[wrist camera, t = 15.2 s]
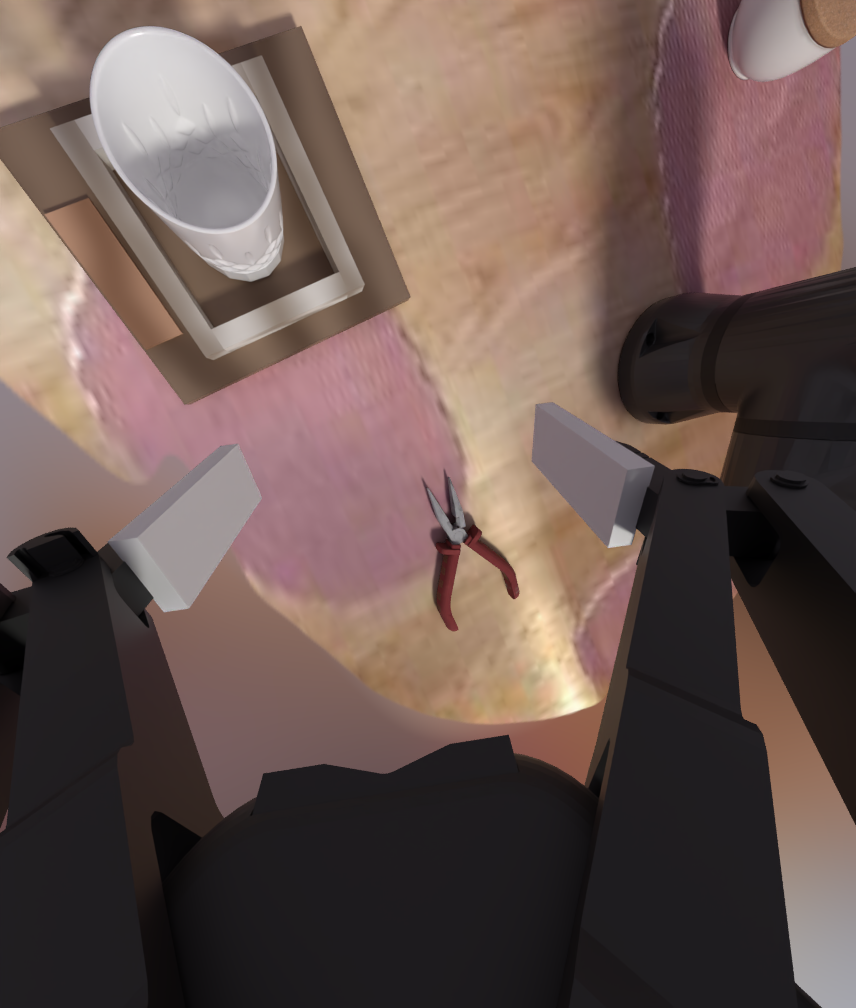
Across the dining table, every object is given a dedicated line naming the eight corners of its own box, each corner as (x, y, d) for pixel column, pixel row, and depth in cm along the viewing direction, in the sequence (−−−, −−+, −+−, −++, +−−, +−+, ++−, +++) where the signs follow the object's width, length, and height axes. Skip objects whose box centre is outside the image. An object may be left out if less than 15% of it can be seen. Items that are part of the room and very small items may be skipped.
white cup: (184, 280, 25) (108, 213, 16) (168, 152, 23) (69, -9, 14) (294, 298, 28) (281, 247, 19) (289, 183, 26) (271, 62, 16)
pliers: (477, 460, 39) (487, 464, 37) (515, 588, 47) (525, 598, 45) (389, 499, 37) (394, 506, 35) (444, 625, 45) (451, 638, 43)
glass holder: (302, 42, 24) (299, -6, 21) (407, 300, 31) (416, 290, 29) (-2, 147, 22) (-52, 108, 19) (189, 404, 29) (175, 404, 26)
